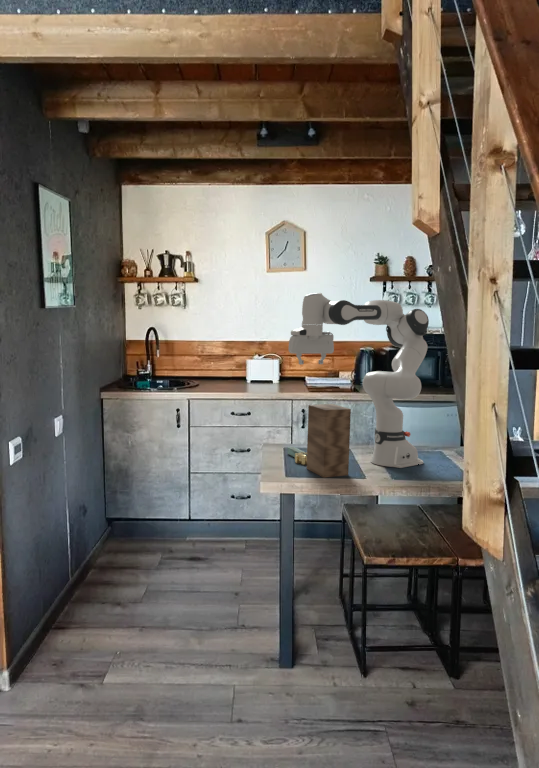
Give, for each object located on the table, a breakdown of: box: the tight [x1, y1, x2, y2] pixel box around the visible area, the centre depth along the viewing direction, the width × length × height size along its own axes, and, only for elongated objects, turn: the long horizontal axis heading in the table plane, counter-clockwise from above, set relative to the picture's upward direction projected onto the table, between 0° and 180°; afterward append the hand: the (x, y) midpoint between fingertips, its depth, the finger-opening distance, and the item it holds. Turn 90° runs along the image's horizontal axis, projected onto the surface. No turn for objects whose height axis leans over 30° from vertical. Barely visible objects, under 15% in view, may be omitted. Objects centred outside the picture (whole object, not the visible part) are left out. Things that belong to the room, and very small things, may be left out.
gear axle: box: [287, 446, 307, 466], centre depth 245 cm, size 10×21×3 cm, turn 24°
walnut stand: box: [306, 403, 352, 479], centre depth 223 cm, size 11×14×26 cm
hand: (311, 364), depth 240 cm, fingers open, 8 cm apart
